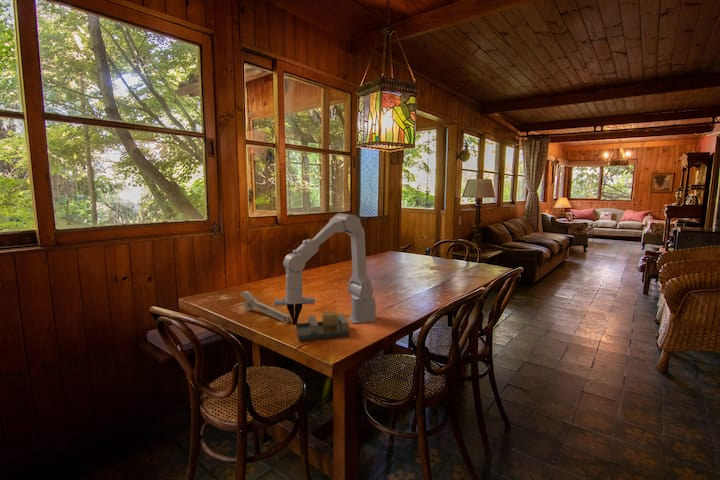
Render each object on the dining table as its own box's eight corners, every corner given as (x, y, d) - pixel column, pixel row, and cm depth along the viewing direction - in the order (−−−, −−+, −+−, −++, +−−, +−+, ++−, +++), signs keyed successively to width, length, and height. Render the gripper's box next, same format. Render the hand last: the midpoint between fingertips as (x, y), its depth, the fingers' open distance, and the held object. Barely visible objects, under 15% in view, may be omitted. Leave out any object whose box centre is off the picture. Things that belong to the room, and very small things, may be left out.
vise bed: (343, 324, 144) (342, 312, 144) (349, 337, 133) (349, 323, 132) (296, 328, 140) (296, 315, 139) (298, 341, 129) (298, 328, 128)
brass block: (335, 326, 140) (335, 311, 139) (337, 330, 136) (337, 314, 135) (322, 327, 138) (322, 312, 137) (323, 331, 135) (323, 315, 134)
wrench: (287, 330, 146) (239, 307, 162) (290, 329, 147) (242, 306, 164) (288, 311, 144) (239, 290, 160) (292, 310, 146) (243, 289, 162)
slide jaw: (315, 324, 140) (315, 315, 140) (318, 334, 131) (318, 325, 131) (308, 325, 140) (308, 316, 139) (311, 335, 131) (311, 325, 130)
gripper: (313, 283, 137) (313, 318, 139) (273, 285, 134) (274, 321, 136) (315, 288, 130) (315, 325, 132) (273, 291, 127) (274, 328, 129)
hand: (294, 324), depth 134 cm, fingers closed
